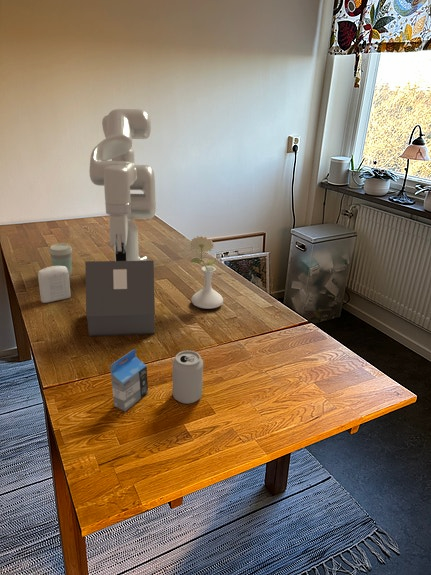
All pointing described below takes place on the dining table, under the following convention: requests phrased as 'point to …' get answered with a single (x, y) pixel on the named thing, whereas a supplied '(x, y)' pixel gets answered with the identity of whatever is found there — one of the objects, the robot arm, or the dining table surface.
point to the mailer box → (120, 325)
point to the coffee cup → (61, 255)
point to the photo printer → (54, 283)
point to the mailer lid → (119, 288)
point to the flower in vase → (207, 295)
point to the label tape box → (128, 381)
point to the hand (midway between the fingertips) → (121, 263)
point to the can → (187, 377)
